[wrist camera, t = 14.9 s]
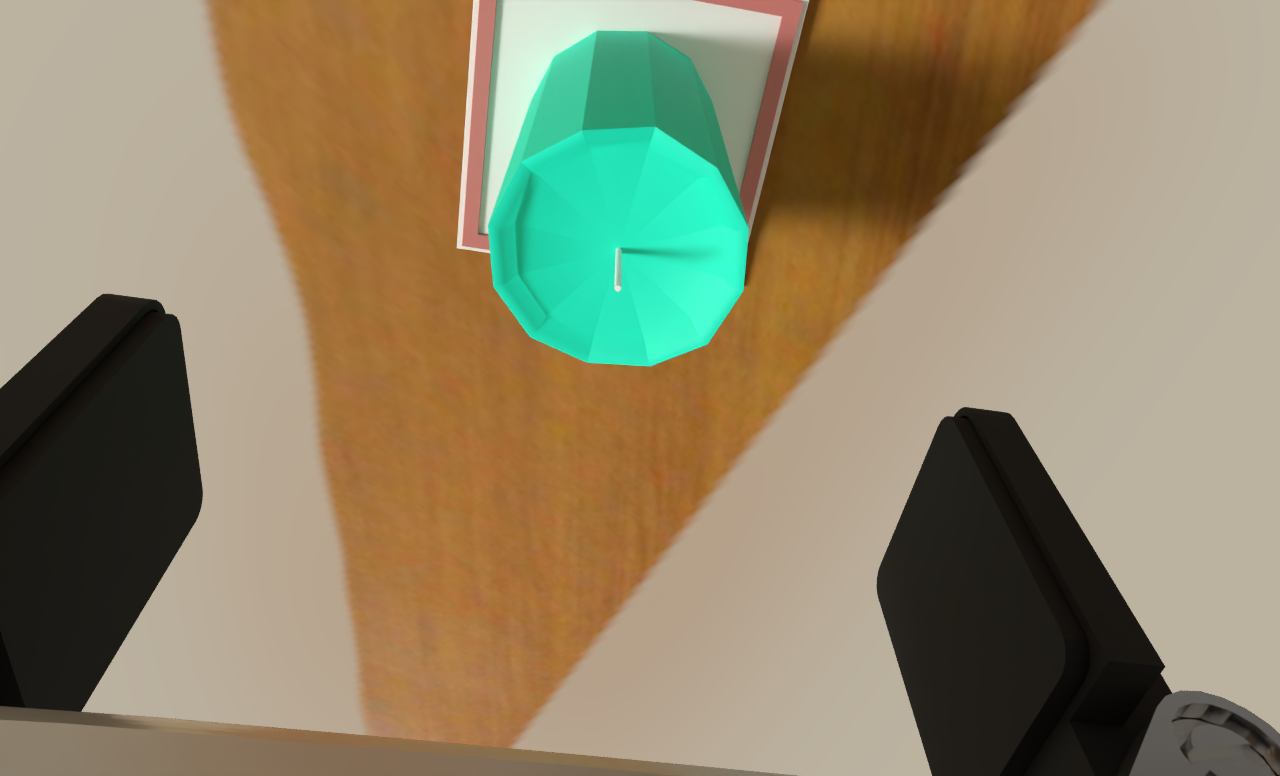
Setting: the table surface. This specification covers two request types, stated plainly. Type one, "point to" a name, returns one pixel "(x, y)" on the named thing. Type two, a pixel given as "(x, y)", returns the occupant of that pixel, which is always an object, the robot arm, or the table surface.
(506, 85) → the marked card
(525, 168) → the candle
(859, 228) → the table surface
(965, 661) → the robot arm
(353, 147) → the table surface
